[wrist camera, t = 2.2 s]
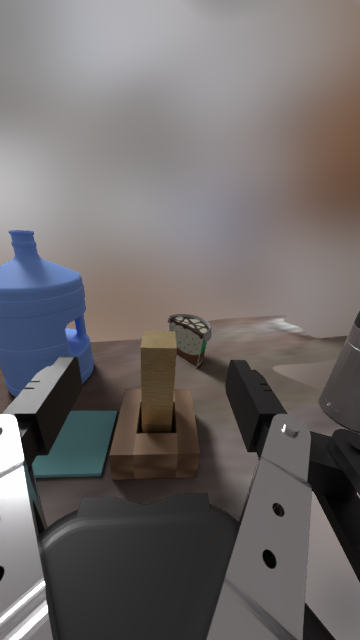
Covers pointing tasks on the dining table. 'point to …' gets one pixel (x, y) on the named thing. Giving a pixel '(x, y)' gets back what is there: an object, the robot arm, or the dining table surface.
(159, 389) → the tan wooden peg
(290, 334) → the dining table surface
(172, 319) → the food container
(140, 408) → the socket block
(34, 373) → the water jug
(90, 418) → the teal mat
